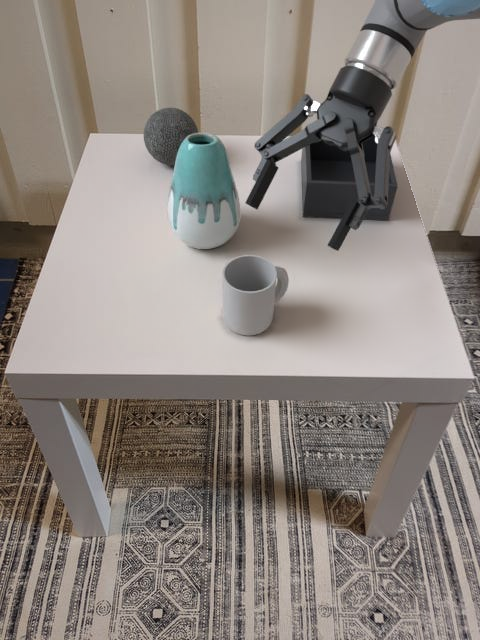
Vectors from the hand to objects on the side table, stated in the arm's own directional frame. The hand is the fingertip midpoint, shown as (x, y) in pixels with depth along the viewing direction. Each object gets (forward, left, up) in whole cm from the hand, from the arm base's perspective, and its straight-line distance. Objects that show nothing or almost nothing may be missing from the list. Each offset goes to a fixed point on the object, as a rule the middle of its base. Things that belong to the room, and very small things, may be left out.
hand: (290, 226), depth 77 cm
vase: (+11, +13, -12) cm, 21 cm away
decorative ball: (+32, +21, -12) cm, 40 cm away
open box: (+25, -10, -12) cm, 30 cm away
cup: (-6, +4, -12) cm, 14 cm away
